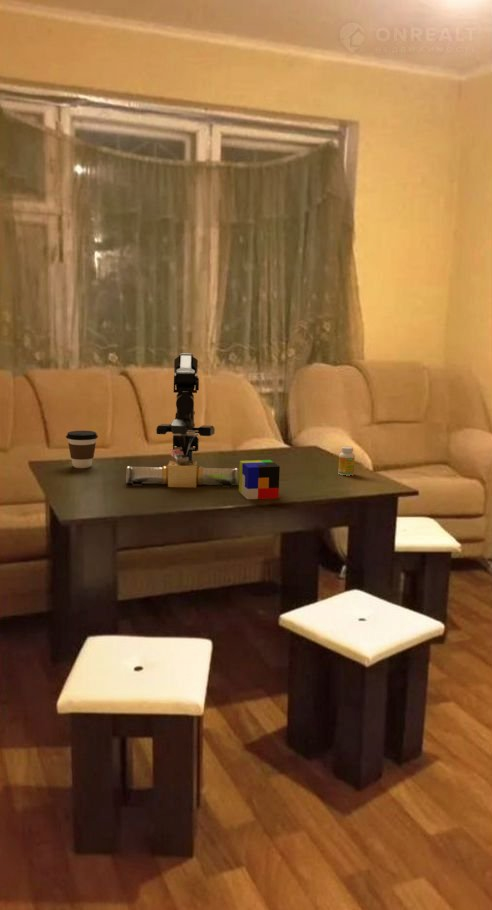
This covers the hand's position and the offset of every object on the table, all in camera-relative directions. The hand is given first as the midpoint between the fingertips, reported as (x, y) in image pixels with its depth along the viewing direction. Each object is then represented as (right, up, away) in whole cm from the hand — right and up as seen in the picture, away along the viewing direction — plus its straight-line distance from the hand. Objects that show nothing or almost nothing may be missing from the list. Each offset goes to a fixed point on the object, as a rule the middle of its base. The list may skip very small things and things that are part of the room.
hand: (185, 455), depth 266 cm
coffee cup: (-38, -4, +15) cm, 41 cm away
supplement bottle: (+56, -7, +14) cm, 58 cm away
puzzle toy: (+24, -13, -18) cm, 33 cm away
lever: (-2, -1, -4) cm, 4 cm away
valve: (0, -9, -8) cm, 12 cm away
